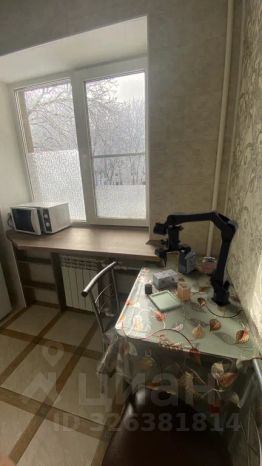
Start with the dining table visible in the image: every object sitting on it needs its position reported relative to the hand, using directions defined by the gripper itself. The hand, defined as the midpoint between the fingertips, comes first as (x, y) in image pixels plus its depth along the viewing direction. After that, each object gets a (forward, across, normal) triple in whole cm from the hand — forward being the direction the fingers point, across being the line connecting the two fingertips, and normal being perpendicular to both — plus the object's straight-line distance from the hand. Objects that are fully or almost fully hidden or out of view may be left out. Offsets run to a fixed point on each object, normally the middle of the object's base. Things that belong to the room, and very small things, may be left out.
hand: (172, 265), depth 110 cm
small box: (+13, -17, -11) cm, 24 cm away
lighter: (+12, -28, -4) cm, 31 cm away
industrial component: (+12, -21, -22) cm, 33 cm away
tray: (+12, +10, +11) cm, 19 cm away
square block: (+12, 0, +11) cm, 17 cm away
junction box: (+12, +2, -3) cm, 13 cm away
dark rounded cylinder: (+12, +14, +1) cm, 19 cm away
